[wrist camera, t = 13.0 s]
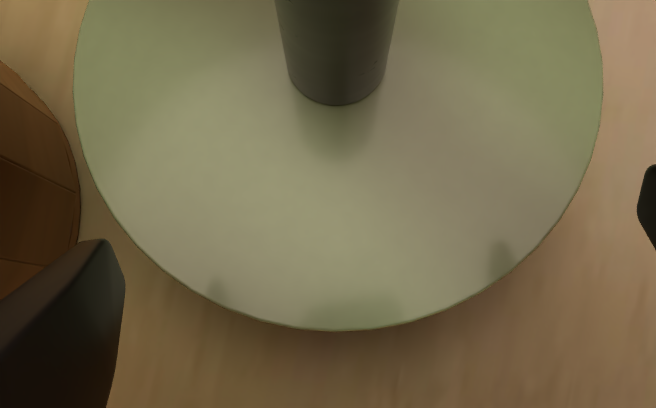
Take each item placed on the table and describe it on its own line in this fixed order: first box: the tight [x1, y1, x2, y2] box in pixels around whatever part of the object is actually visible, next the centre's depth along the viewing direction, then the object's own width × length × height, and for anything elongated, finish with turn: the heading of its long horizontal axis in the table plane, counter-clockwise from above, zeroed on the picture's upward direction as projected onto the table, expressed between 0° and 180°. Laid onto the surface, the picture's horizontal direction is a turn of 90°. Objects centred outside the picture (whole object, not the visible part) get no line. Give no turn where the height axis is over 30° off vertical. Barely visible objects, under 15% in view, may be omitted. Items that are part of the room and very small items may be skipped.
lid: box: [73, 0, 603, 332], centre depth 12 cm, size 14×14×6 cm
